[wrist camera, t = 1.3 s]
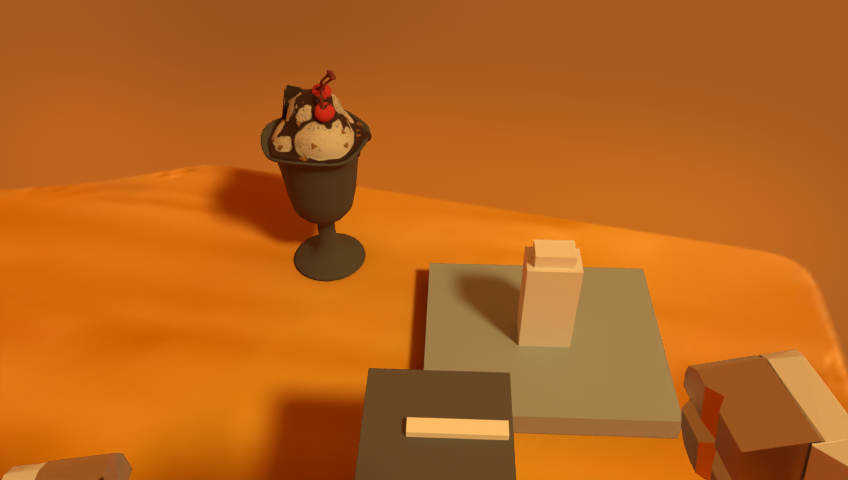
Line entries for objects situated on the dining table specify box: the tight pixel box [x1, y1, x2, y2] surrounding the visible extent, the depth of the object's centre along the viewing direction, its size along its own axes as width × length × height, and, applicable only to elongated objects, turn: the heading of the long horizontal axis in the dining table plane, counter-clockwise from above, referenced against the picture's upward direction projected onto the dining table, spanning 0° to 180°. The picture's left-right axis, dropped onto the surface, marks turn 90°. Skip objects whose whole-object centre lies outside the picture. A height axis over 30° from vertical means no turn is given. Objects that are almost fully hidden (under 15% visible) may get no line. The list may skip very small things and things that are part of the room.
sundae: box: [261, 70, 371, 281], centre depth 47 cm, size 7×7×15 cm
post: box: [424, 240, 682, 438], centre depth 43 cm, size 14×12×8 cm
